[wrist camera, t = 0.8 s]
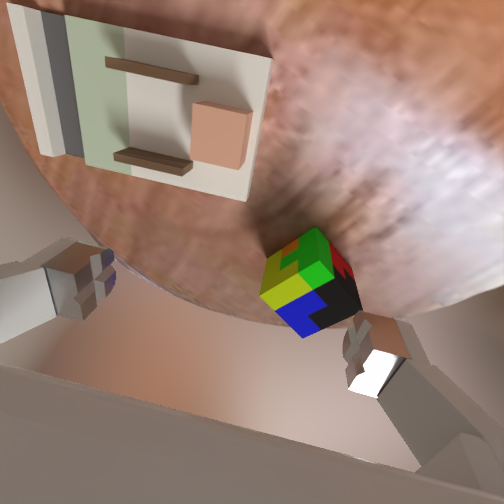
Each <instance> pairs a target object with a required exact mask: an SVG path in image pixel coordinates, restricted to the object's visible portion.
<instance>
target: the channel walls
mask: <svg viewBox="0 0 504 504" xmlns="http://www.w3.org/2000/svg"><path fill="white" fill-rule="evenodd" d="M105 67H106V68H111V69H115V70H120V71H125V72H129V73H134V74H138V75H143V76H148V77H152V78H157V79H161V80H166V81H171V82H175V83H180V84H184V85H198V82H199V75H196V74H191V73H187V72H182V71H177V70H173V69H168V68H163V67H159V66H154V65H150V64H145V63H140V62H136V61H131V60H126V59H120V58H114V57H107V56H105ZM113 158H114V161H117V162H121V163H125V164H130V165H134V166H138V167H143V168H147V169H151V170H155V171H160V172H164V173H168V174H173V175H177V176H181V177H182V176H184V175H185V174H186V173H188V172H189V171H190V170H192V169H193V161H190V160H186V159H181V158H177V157H172V156H168V155H164V154H159V153H155V152H151V151H146V150H142V149H137V148H133V147H128V148H125V149H122V150H120V151H117V152H114V153H113Z"/></svg>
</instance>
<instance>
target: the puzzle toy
mask: <svg viewBox="0 0 504 504" xmlns="http://www.w3.org/2000/svg"><path fill="white" fill-rule="evenodd" d="M259 296H260V297H261V298H262V299H263V300H264V301H265V302H266V303H267V304H268V305H269V306H270V307H271V308H272V309H273V310H274V311H275V312H276V313H277V314H278V315H279V316H280V317H281V318H282V319H283V320H284V321H285V322H286V323H287V324H288V325H289V326H290V327H291V328H292V329H293V330H295V332H297V334H298V335H300V336H301V337H302V338H305V337H307V336H309V335H311V334H314V333H316V332H318V331H320V330H322V329H325V328H327V327H329V326H331V325H333V324H335V323H338V322H340V321H342V320H344V319H346V318H349V317H351V316H353V315H355V314H356V313H357V312H358V311H359V310H361V311H363V309H362V305H361V301H360V298H359V294H358V290H357V286H356V283H355V279H354V275H353V271H352V269H351V268H350V266H349V265H348V264H347V263H346V262H345V260H344V259H343V258H342V257H341V255H340V254H339V253H338V252H337V251H336V249H335V248H334V247H333V246H332V245H331V243H330V242H329V241H328V240H327V238H326V237H325V236H324V235H323V234H322V232H321V231H320V230H319V229H318V228H317V226H315V227H314V228H312V229H311V230H309V231H308V232H306V233H305V234H303V235H302V236H300V237H299V238H297V239H296V240H294V241H293V242H291V243H290V244H288V245H287V246H285V247H284V248H282V249H281V250H279V251H278V252H276V253H275V254H273V255H272V256H270V257H269V258H267V262H266V266H265V271H264V276H263V281H262V286H261V290H260V295H259Z"/></svg>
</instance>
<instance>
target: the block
mask: <svg viewBox="0 0 504 504" xmlns="http://www.w3.org/2000/svg"><path fill="white" fill-rule="evenodd" d="M252 118H253V111H249V110H244V109H240V108H235V107H230V106H226V105H221V104H217V103H212V102H208V101H202V102H195V103H193V108H192V126H191V143H190V159H191V160H195V161H200V162H204V163H208V164H213V165H217V166H221V167H226V168H230V169H235V170H239V169H240V168H241V167H242V165H243V164H244V163H245V160H246V154H247V148H248V142H249V136H250V130H251V124H252Z"/></svg>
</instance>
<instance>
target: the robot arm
mask: <svg viewBox="0 0 504 504" xmlns="http://www.w3.org/2000/svg"><path fill="white" fill-rule="evenodd" d="M113 261H114V253H113V251H112V250H111V249H109V248H105V247H102V246H98V245H94V244H90V243H87V242H83V241H78V240H75V239H71V238H61V239H59V240H58V241H56V242H54V243H53V244H51V245H49V246H48V247H46V248H45V249H43V250H41V251H40V252H38V253H36V254H35V255H33V256H31V257H30V258H28V259H27V260H25V261H23V262H18V261H15V262H11V263H7V264H2V265H0V343H3V342H5V341H7V340H9V339H11V338H13V337H15V336H17V335H19V334H21V333H24V332H26V331H28V330H30V329H32V328H34V327H36V326H38V325H40V324H42V323H44V322H47V321H49V320H51V319H53V318H55V317H56V315H58V316H63V317H66V318H71V319H75V320H80V321H84V320H85V319H86V318H87V317H88V316H89V315H90V314H91V313H92V312H93V311H94V310H95V308H96V307H97V301H98V300H101V299H103V298H106V297H107V296H108V295H109V293H110V292H111V291H112V289H113V287H114V285H115V280H116V271H115V270H114V268H113V267H112V266H111V263H112V262H113ZM353 321H354V326H352V327H350V328H348V330H347V332H346V334H345V336H344V341H343V357H344V359H345V360H346V361H347V362H348V366H347V368H346V377H347V383H348V389H349V390H352V391H356V392H360V393H363V394H366V395H370V396H373V397H377V400H378V402H379V403H380V405H381V406H382V408H383V409H384V411H385V412H386V414H387V415H388V417H389V418H390V420H391V421H392V423H393V424H394V426H395V427H396V429H397V430H398V432H399V433H400V435H401V436H402V437H403V439H404V441H405V442H406V444H407V445H408V447H409V448H410V450H411V451H412V453H413V454H414V456H415V457H416V459H417V460H418V462H419V463H420V465H421V466H422V467H421V468H419V469H418V470H417V471H416V472H415V473H413V472H409V471H406V470H402V469H398V468H395V467H391V466H387V465H383V464H379V463H376V462H372V461H368V460H364V459H361V458H357V457H353V456H350V455H346V454H342V453H338V452H335V451H330V450H327V449H323V448H319V447H316V446H312V445H308V444H304V443H301V442H297V441H293V440H289V439H285V438H282V437H278V436H274V435H270V434H267V433H262V432H259V431H255V430H251V429H248V428H244V427H240V426H236V425H232V424H228V423H225V422H221V421H218V420H214V419H210V418H206V417H202V416H199V415H195V414H191V413H187V412H184V411H180V410H176V409H172V408H169V407H165V406H161V405H157V404H154V403H149V402H146V401H142V400H139V399H134V398H131V397H127V396H123V395H120V394H116V393H112V392H108V391H104V390H101V389H97V388H93V387H90V386H86V385H82V384H78V383H74V382H70V381H67V380H63V379H60V378H56V377H51V376H48V375H44V374H40V373H37V372H33V371H30V370H26V369H22V368H18V367H14V366H11V365H7V364H3V363H0V504H504V428H503V427H502V426H501V425H500V424H499V423H498V422H497V421H496V420H495V419H494V418H493V417H491V416H490V415H489V414H488V413H487V412H486V411H485V410H484V409H483V408H482V407H480V406H479V405H478V404H477V403H476V402H475V401H474V400H473V399H472V398H471V397H470V396H468V395H467V394H466V393H465V392H464V391H463V390H462V389H461V388H460V387H459V386H457V385H456V384H455V383H454V382H453V381H452V380H451V379H450V378H449V377H448V376H446V375H445V374H444V373H443V372H442V371H441V370H440V369H439V368H438V367H437V366H434V365H431V364H430V362H429V360H428V358H427V356H426V354H425V351H424V349H423V347H422V346H421V343H420V341H419V339H418V337H417V335H416V333H415V331H414V328H413V326H412V324H411V323H410V322H409V321H406V320H402V319H397V318H393V317H391V318H390V317H386V316H382V315H378V314H374V313H369V312H365V311H361V310H359V311H358V312H357V313H356V314H355V316H354V318H353Z"/></svg>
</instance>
